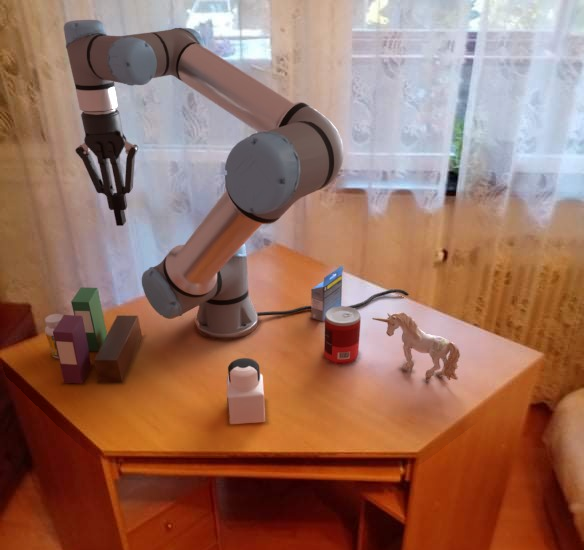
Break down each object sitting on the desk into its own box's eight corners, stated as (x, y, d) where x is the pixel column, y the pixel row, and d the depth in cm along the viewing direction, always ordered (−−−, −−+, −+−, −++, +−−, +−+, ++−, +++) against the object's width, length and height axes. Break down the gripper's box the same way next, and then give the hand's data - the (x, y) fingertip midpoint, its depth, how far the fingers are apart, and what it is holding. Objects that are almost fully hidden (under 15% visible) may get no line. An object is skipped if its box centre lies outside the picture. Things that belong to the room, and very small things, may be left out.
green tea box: (107, 335, 145) (97, 287, 137) (99, 351, 140) (88, 302, 132) (91, 334, 145) (80, 287, 137) (82, 350, 140) (70, 301, 132)
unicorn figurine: (376, 353, 137) (380, 302, 129) (461, 370, 132) (471, 318, 124) (367, 370, 132) (372, 318, 124) (455, 388, 126) (466, 335, 118)
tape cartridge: (329, 304, 157) (330, 260, 149) (341, 308, 155) (343, 264, 147) (310, 318, 151) (310, 273, 144) (323, 322, 149) (324, 277, 142)
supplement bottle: (72, 344, 142) (62, 309, 136) (79, 354, 138) (69, 319, 133) (49, 351, 140) (38, 316, 134) (56, 362, 136) (45, 326, 130)
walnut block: (142, 337, 145) (137, 315, 141) (122, 382, 129) (117, 360, 126) (121, 336, 145) (117, 315, 141) (99, 382, 130) (93, 360, 126)
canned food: (364, 355, 137) (367, 313, 130) (343, 369, 132) (345, 327, 126) (339, 343, 141) (341, 302, 135) (317, 356, 137) (317, 315, 130)
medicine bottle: (229, 403, 123) (224, 355, 116) (263, 400, 124) (261, 353, 116) (229, 425, 118) (224, 376, 110) (265, 422, 118) (262, 373, 111)
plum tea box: (91, 365, 135) (82, 315, 127) (82, 383, 129) (71, 333, 121) (74, 364, 135) (64, 314, 127) (63, 382, 129) (52, 331, 121)
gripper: (136, 106, 122) (153, 217, 136) (73, 106, 122) (97, 217, 137) (127, 114, 116) (146, 229, 130) (61, 114, 116) (87, 229, 131)
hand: (121, 223), depth 134 cm, fingers closed
